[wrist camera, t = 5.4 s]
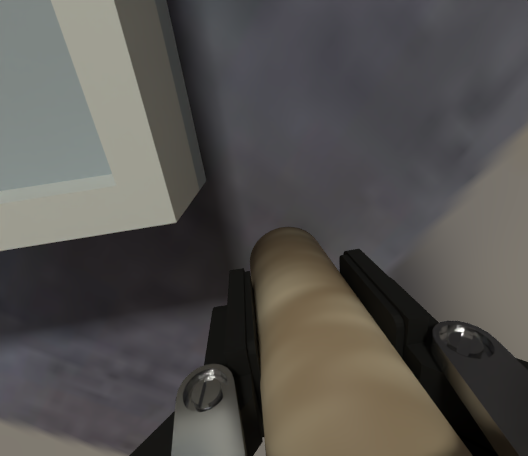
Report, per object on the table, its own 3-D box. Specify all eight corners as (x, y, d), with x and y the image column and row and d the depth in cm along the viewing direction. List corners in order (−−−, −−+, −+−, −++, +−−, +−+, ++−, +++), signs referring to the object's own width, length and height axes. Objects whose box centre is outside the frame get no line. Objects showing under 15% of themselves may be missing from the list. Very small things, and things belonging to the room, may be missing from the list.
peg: (319, 221, 12) (605, 532, 3) (323, 285, 13) (524, 645, 4) (244, 233, 12) (264, 606, 2) (255, 297, 13) (297, 698, 4)
